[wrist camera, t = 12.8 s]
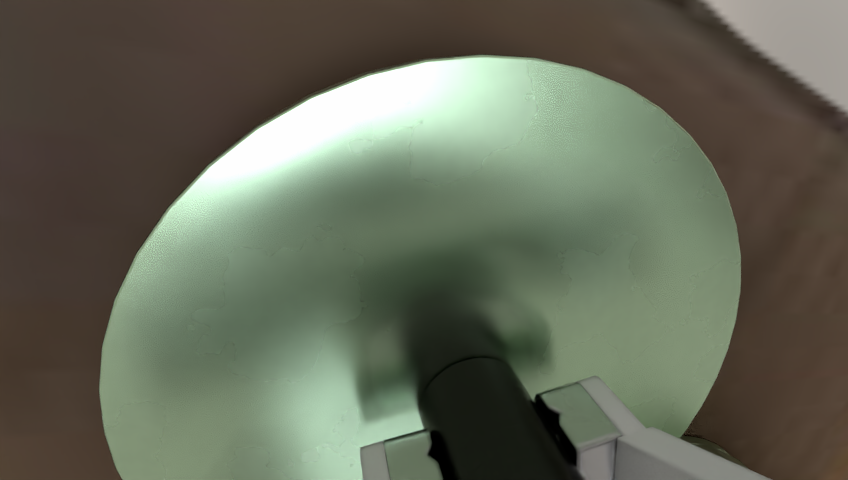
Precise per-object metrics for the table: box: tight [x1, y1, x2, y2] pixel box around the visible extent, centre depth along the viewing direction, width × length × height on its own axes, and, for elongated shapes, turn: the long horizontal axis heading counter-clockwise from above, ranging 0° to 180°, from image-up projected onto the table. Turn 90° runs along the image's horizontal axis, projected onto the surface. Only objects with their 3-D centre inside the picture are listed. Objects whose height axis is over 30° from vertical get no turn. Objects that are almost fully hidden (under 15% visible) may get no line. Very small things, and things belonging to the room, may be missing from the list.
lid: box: [99, 54, 741, 480], centre depth 9 cm, size 16×16×5 cm
